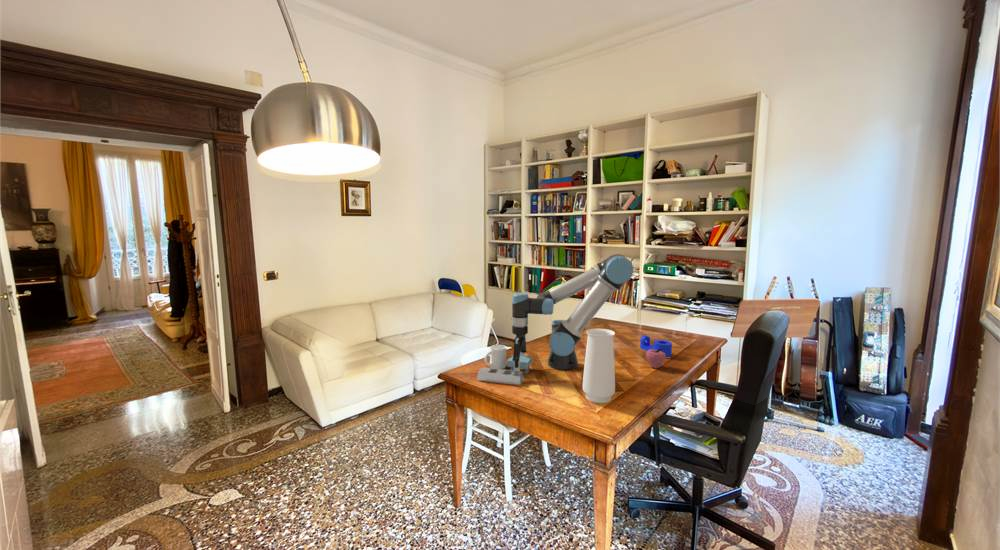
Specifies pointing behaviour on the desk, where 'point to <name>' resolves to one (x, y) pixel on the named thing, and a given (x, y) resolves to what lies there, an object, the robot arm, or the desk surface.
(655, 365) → the apple
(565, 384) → the desk surface
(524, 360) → the pale blue memo pad
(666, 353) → the bracket
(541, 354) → the desk surface
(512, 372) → the grey block with holes
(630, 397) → the desk surface
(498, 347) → the mug
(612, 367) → the vase
